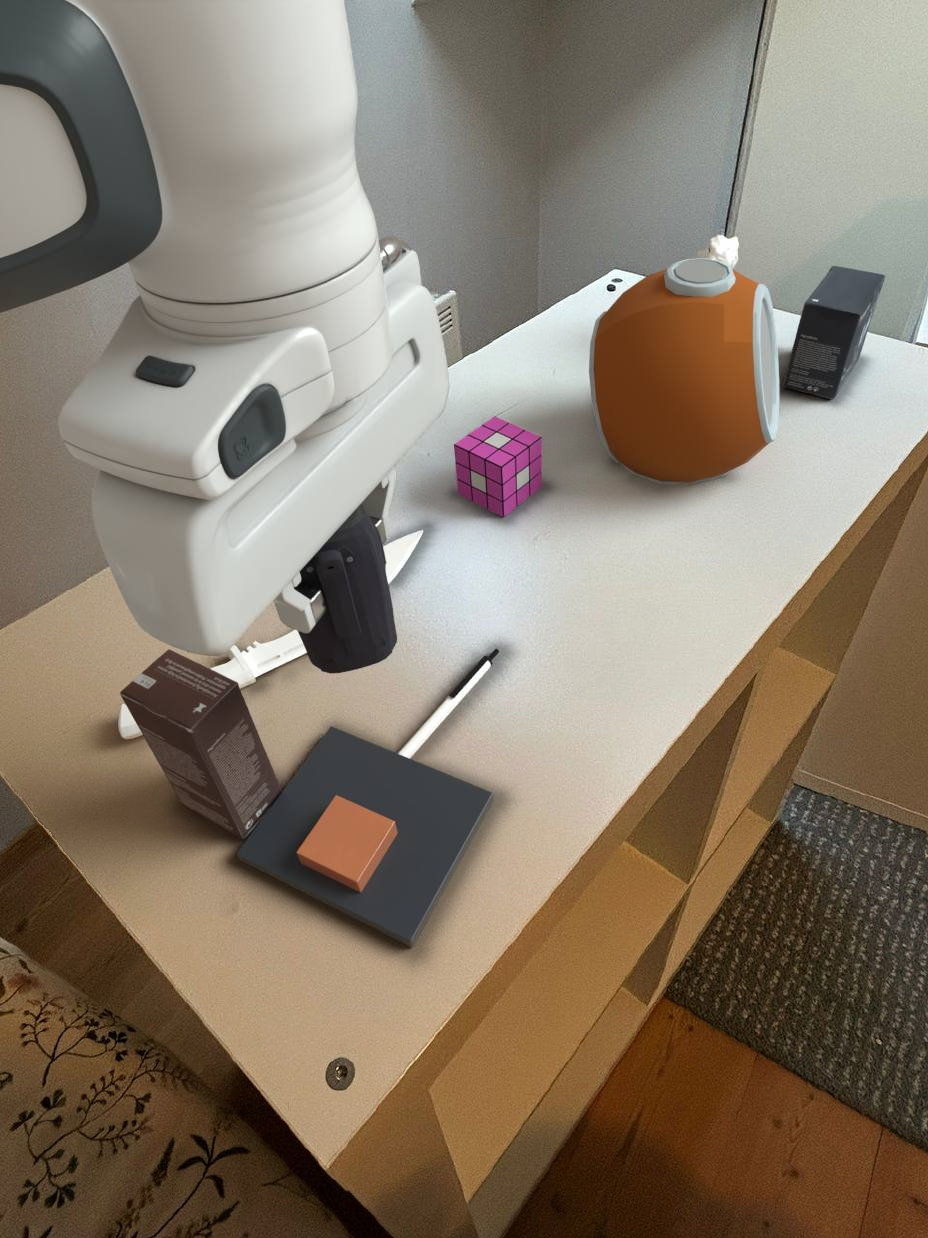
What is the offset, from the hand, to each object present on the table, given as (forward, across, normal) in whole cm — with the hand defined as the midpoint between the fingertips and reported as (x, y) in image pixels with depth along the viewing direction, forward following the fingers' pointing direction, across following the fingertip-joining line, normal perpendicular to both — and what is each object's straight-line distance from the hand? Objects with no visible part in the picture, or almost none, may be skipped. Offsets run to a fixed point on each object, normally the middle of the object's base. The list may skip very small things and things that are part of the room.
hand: (338, 580), depth 42 cm
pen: (+20, -4, 0) cm, 21 cm away
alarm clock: (+20, -45, +6) cm, 50 cm away
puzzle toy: (+20, -32, -7) cm, 39 cm away
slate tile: (+20, +3, 0) cm, 20 cm away
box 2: (+20, -63, +16) cm, 68 cm away
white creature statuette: (+20, -65, +2) cm, 68 cm away
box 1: (+20, +5, -10) cm, 23 cm away
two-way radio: (+6, 0, 0) cm, 6 cm away
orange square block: (+19, +5, 0) cm, 20 cm away
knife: (+20, -10, -15) cm, 27 cm away
